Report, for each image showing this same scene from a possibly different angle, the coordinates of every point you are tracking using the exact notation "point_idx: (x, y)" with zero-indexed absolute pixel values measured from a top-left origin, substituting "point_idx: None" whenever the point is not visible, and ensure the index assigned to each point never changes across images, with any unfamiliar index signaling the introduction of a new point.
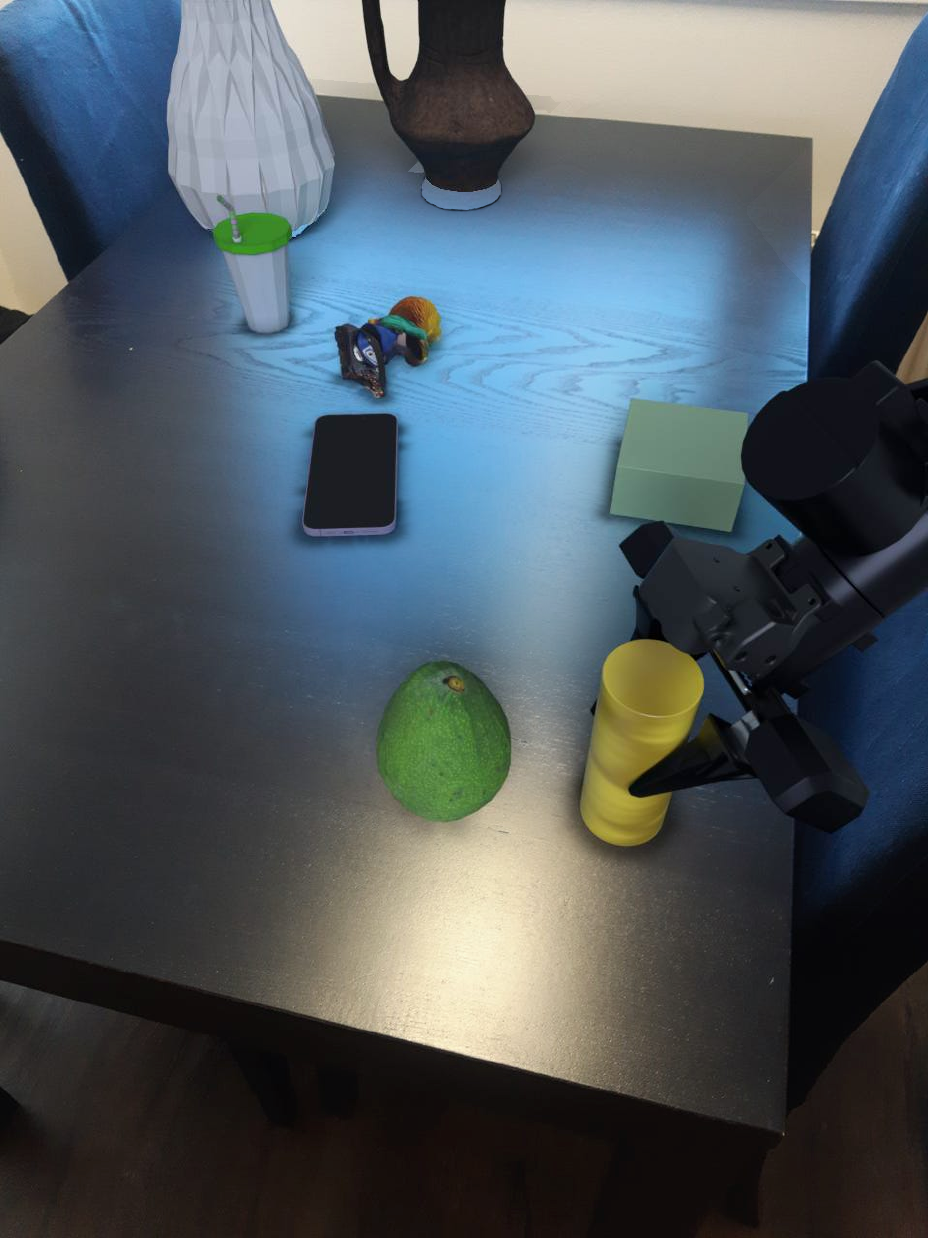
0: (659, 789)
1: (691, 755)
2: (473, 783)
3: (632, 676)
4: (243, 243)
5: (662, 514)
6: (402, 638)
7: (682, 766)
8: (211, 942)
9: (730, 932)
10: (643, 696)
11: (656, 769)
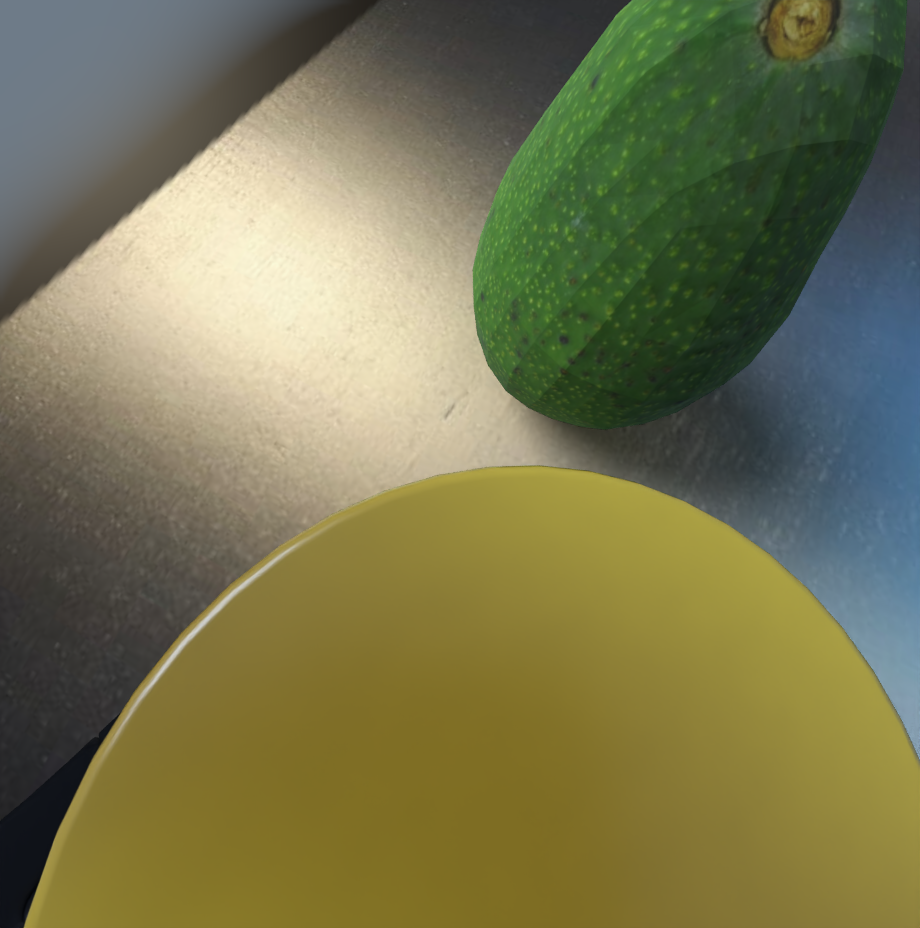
0: None
1: (23, 867)
2: (494, 238)
3: (615, 734)
4: None
5: None
6: (872, 421)
7: (68, 776)
8: (445, 11)
9: (59, 719)
10: (385, 725)
11: None
